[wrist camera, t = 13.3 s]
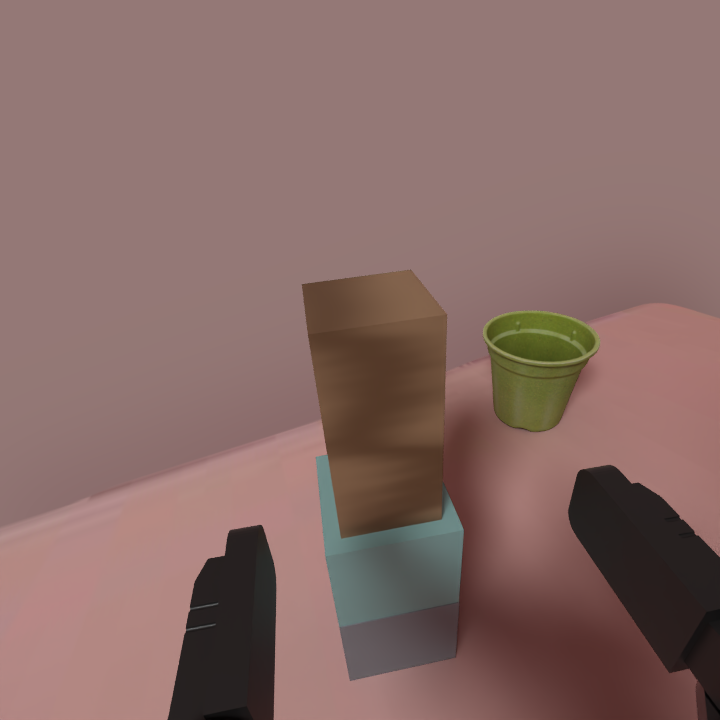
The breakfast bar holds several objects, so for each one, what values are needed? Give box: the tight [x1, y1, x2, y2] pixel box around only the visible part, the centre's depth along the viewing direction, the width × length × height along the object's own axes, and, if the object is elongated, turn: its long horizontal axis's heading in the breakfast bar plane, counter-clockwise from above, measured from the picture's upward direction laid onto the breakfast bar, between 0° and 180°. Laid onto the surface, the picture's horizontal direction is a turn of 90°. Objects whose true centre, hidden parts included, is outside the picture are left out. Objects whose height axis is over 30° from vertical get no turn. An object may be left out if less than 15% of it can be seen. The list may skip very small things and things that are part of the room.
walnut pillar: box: [302, 270, 447, 539], centre depth 18 cm, size 4×4×10 cm
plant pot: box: [483, 311, 600, 432], centre depth 39 cm, size 9×9×9 cm
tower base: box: [340, 602, 459, 681], centre depth 25 cm, size 6×6×6 cm
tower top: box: [316, 455, 464, 627], centre depth 22 cm, size 6×6×6 cm
